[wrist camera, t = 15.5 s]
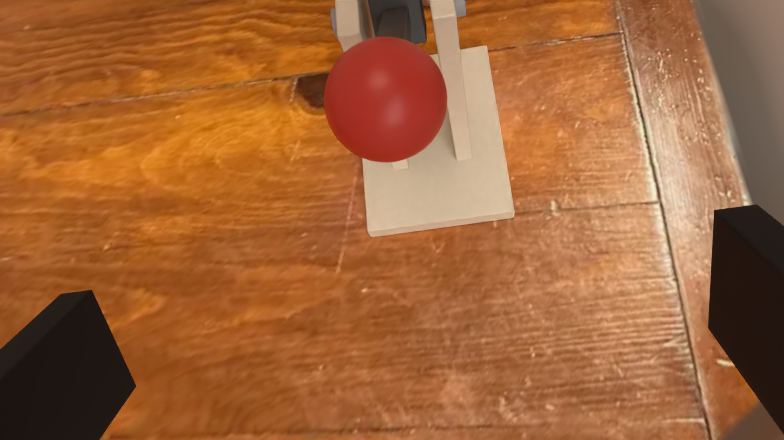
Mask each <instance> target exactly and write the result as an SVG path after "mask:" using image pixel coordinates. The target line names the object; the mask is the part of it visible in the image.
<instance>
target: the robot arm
mask: <svg viewBox="0 0 784 440" xmlns="http://www.w3.org/2000/svg"><path fill="white" fill-rule="evenodd" d="M708 329H709V330H710V331H711V333H712V334H713V336H714V337H715V338H716V340H717V341H718V343H719V344H720V345H721V347H722V348H723V350H724V351H725V352H726V354H727V355H728V357H729V358H730V359H731V361H732V362H733V364H734V365H735V366H736V368H737V369H738V371H739V372H740V374H741V375H742V376H743V378H744V379H745V381H746V382H747V383H748V385H749V386H750V388H751V389H752V390H753V392H754V393H755V395H756V396H757V397H758V399H759V400H760V402H761V403H762V404H763V406H764V407H765V409H766V410H767V411H768V413H769V414H770V416H771V417H772V418H773V420H774V421H775V423H776V424H777V425H778V427H779V428H780V430H781V431H782V432H783V434H784V226H783V225H781V223H779V222H778V221H777V220H776V219H774V218H773V217H772V216H771V215H769V214H768V213H767V212H766V211H764V210H763V209H762V208H761V207H759V206H758V205H750V206H742V207H734V208H727V209H719V210H714V224H713V244H712V263H711V282H710V301H709V321H708ZM135 387H136V385H135V382H134V380H133V378H132V376H131V374H130V372H129V369H128V367H127V365H126V363H125V361H124V359H123V357H122V354H121V352H120V350H119V348H118V346H117V344H116V341H115V339H114V337H113V335H112V333H111V331H110V328H109V326H108V324H107V322H106V320H105V318H104V315H103V313H102V311H101V309H100V307H99V305H98V302H97V300H96V298H95V296H94V294H93V292H92V290H88V291H80V292H72V293H64V294H60V295H59V296H58V297H57V298H56V299H55V300H54V301H53V302H52V303H50V304H49V305H48V306H47V307H46V308H45V309H44V310H43V311H42V312H41V313H40V314H38V315H37V316H36V317H35V318H34V319H33V320H32V321H31V322H30V323H29V324H28V325H26V326H25V327H24V328H23V329H22V330H21V331H20V332H19V333H18V334H17V335H16V336H14V337H13V338H12V339H11V340H10V341H9V342H8V343H7V344H6V345H5V346H4V347H2V348H1V349H0V440H99V439H100V438H101V437H102V435H103V434H104V432H105V431H106V429H107V428H108V426H109V425H110V423H111V422H112V421H113V419H114V418H115V416H116V415H117V413H118V412H119V410H120V409H121V407H122V406H123V405H124V403H125V402H126V400H127V399H128V397H129V396H130V394H131V393H132V392H133V390H134V389H135Z"/></svg>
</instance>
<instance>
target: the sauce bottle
mask: <svg viewBox="0 0 784 440" xmlns="http://www.w3.org/2000/svg"><path fill="white" fill-rule="evenodd" d="M422 2H423V5H424V6H430V2H429V0H422Z"/></svg>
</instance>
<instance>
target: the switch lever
mask: <svg viewBox="0 0 784 440" xmlns="http://www.w3.org/2000/svg"><path fill="white" fill-rule="evenodd" d="M368 4H369V9H370V14H371V19H372V24H373V29H374V33H375V37H374V38H370V39H367V40H364V41H362V42H359V43H357V44H355V45H354V46H352V47H351V48H349V49H348V50H347V51H346V52H345V53H344V54H343V55H342V56H341V57H340V58H339V59H338V60H337V61H336V63H335V64H334V66H333V68H332V69H331V71H330V73H329V76H328V79H327V82H326V86H325V91H324V107H325V113H326V117H327V120H328V123H329V125H330V127H331V129H332V131H333V133H334V134H335V136H336V137H337V139H338V140H339V141H340V142H341V143H342V144H343V145H344V146H345V147H346V148H347V149H348V150H350V151H351V152H353V153H354V154H356V155H358V156H359V157H362V158H364V159H367V160H370V161H375V162H385V163H387V162H396V161H401V160H404V159H407V158H410V157H412V156H414V155H416V154H417V153H419V152H420V151H422V150H423V149H425V148H426V147H427V146H428V145H429V144H430V143H431V142H432V141H433V139H434V138H435V137H436V135H437V134H438V132H439V130H440V128H441V126H442V124H443V121H444V118H445V115H446V110H447V89H446V85H445V81H444V78H443V75H442V73H441V71H440V69H439V67H438V65H437V64H436V63H435V61H434V60H433V59H432V57H431V56H430V55H429V54H428V53H427V52H426V51H424V50H423V49H422V48H420V47H419V46H417V45H415V44H420V43H425V42H427V36H426V21H425V15H424V8H423V2H422V0H368Z"/></svg>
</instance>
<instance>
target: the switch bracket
mask: <svg viewBox="0 0 784 440" xmlns="http://www.w3.org/2000/svg"><path fill="white" fill-rule="evenodd" d="M429 2H430V9H431V17H432V23H433V29H434V34H435V40H436V46H437V52H438V54H434V55H430V56H431V57H432V59H433V60H434V61H435V63H436V64H437V65H438V67H439V69H440V71H441V73H442V75H443V78H444V81H445V85H446V89H447V110H446V115H445V118H444V121H443V124H442V126H441V128H440V130H439V132H438V134H437V135H436V137H435V138H434V139H433V141H432V142H431V143H430V144H429V145H428V146H427V147H426V148H425V149H423V150H422V151H420V152H419V153H417V154H416V155H414V156H412V157H410V158H407V159H404V160H401V161H396V162H387V163H385V162H375V161H370V160H367V159H364V158H362V163H363V177H364V191H365V205H366V219H367V231H368V233H369V234H370V236H371V237H377V236H385V235H392V234H399V233H406V232H414V231H421V230H428V229H435V228H443V227H450V226H457V225H464V224H472V223H479V222H486V221H493V220H501V219H508V218H514V205H513V199H512V193H511V187H510V181H509V175H508V169H507V164H506V158H505V152H504V146H503V140H502V134H501V128H500V122H499V116H498V110H497V104H496V98H495V92H494V87H493V81H492V75H491V69H490V63H489V57H488V51H487V46H486V45H484V46H478V47H473V48H467V49H462V50H460V44H459V35H458V27H457V18H456V17H462V16H466V4H465V0H429ZM335 7H336V8H332V9H331V23H332V28H333V31H334V34H335V37H336V38H337V39H338V40H339V42H340V44H341V47H342V49H343V51H344V53H345V52H346V51H347V50H348V49H349V48H351V47H352V46H354V45H355V44H357V43H359V42H362V41H364V40H367V39H370V38H374V37H375V33H374V29H373V24H372V19H371V14H370V9H369V4H368V0H335Z"/></svg>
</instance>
